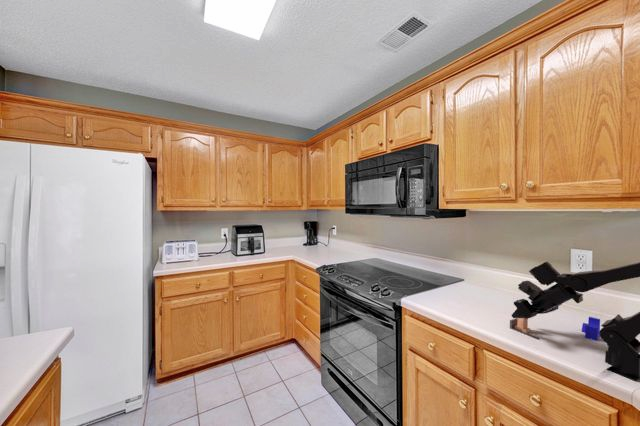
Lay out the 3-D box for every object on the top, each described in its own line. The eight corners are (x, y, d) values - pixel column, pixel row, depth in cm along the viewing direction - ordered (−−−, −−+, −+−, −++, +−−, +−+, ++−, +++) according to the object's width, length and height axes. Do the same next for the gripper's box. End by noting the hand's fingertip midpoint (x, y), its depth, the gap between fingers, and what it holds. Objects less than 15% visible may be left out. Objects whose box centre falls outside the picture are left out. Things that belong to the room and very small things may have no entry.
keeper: (530, 331, 99) (531, 308, 98) (526, 333, 97) (526, 309, 97) (518, 327, 102) (519, 304, 102) (514, 328, 101) (515, 305, 101)
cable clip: (583, 330, 104) (583, 315, 103) (599, 334, 100) (600, 319, 100) (579, 339, 96) (579, 323, 96) (596, 345, 92) (597, 328, 92)
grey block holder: (547, 341, 94) (547, 329, 94) (539, 344, 92) (539, 331, 92) (516, 329, 103) (517, 318, 103) (509, 331, 101) (509, 320, 101)
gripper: (549, 273, 100) (516, 292, 110) (520, 278, 92) (488, 299, 102) (575, 300, 93) (538, 318, 103) (546, 308, 85) (509, 327, 95)
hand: (518, 315), depth 101 cm, fingers open, 7 cm apart
